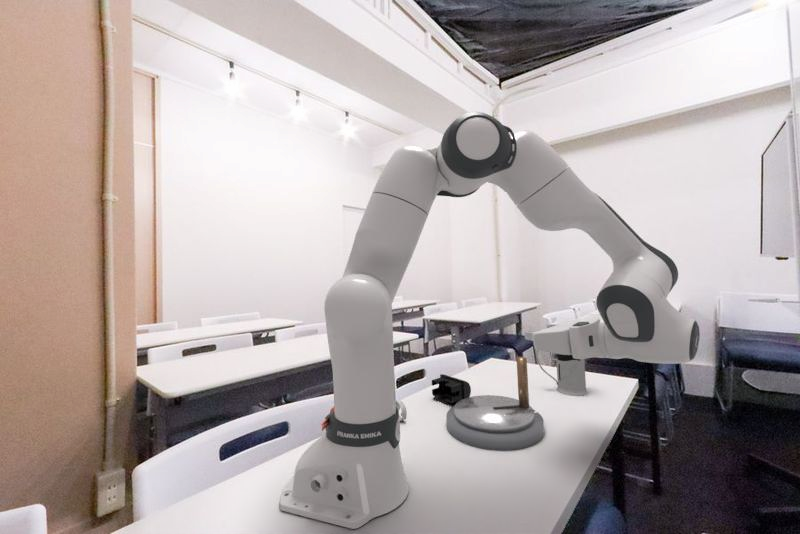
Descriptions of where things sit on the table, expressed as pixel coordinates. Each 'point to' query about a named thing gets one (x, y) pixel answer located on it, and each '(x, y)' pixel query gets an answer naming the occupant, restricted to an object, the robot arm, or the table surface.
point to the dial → (498, 408)
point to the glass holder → (569, 375)
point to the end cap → (450, 390)
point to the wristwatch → (403, 409)
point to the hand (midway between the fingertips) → (537, 331)
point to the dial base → (496, 434)
